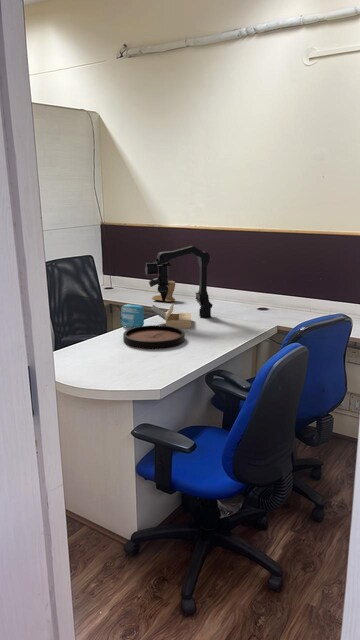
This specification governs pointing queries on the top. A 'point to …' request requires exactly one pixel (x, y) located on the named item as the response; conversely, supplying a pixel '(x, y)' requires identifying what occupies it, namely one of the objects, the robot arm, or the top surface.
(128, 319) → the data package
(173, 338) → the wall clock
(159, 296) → the tan suede boot shape
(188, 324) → the carton
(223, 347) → the top surface
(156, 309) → the carton flap
